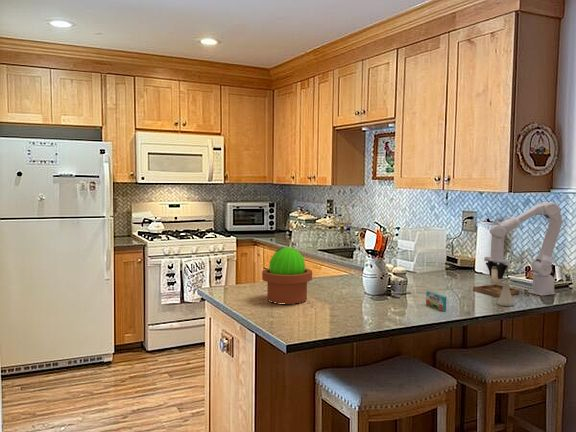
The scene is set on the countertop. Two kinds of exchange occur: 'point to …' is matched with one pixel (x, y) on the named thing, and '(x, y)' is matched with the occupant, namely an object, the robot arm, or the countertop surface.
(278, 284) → the potted cactus
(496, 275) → the pepper shaker
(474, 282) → the countertop surface
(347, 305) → the countertop surface
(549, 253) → the robot arm
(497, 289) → the tray
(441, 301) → the teal printed box
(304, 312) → the countertop surface
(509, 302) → the flask
